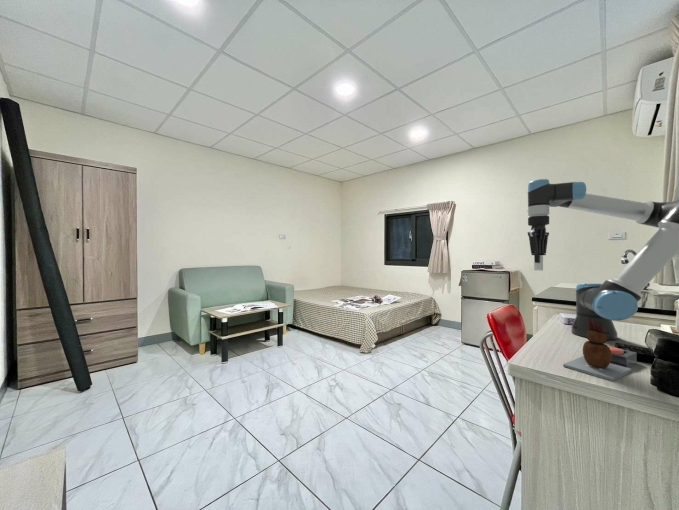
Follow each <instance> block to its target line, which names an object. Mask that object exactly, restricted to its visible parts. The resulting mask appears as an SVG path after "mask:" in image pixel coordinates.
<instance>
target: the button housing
mask: <svg viewBox="0 0 679 510" xmlns="http://www.w3.org/2000/svg"><path fill="white" fill-rule="evenodd" d="M607 346H608V345H607ZM608 347H610V346H608ZM621 349H622V350H623V351H624V354H623V355H619V354H615V353H612V359H611V362H610V363H611V364H615V365H619V366H623V367H627V368H631V367H632V366H634V365H636V364H637V363H638V362H637V361H638V360H637V359H638V358H637V357H638V353H637V352H636V351H631V350H627V349H623V348H621Z"/></svg>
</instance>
